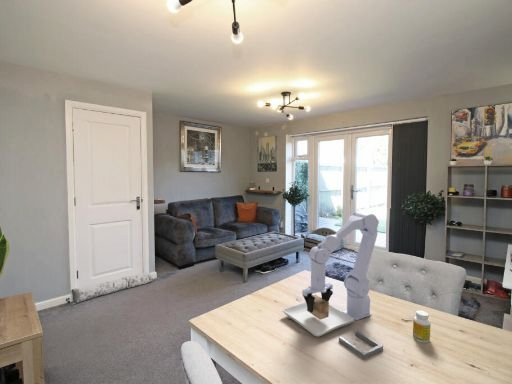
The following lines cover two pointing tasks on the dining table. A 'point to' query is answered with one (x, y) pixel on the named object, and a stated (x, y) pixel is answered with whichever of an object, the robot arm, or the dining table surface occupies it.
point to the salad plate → (315, 324)
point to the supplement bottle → (421, 326)
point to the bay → (362, 354)
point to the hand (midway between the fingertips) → (317, 309)
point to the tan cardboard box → (320, 308)
